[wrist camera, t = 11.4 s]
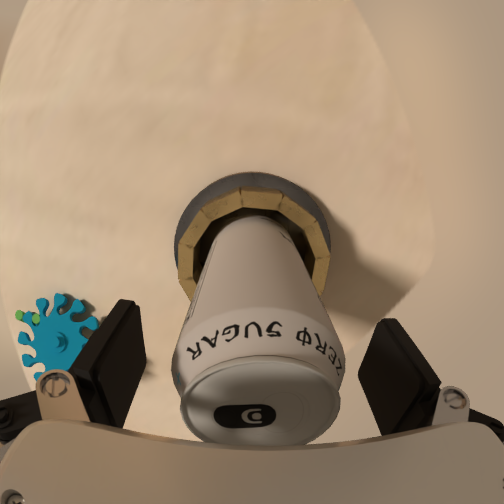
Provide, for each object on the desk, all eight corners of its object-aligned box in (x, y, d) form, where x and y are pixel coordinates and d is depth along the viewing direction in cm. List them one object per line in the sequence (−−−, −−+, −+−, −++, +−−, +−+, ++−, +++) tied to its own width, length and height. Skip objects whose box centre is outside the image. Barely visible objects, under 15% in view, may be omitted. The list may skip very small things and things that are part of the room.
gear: (119, 328, 24) (73, 414, 19) (128, 336, 29) (90, 407, 24) (39, 267, 23) (-4, 345, 19) (57, 285, 29) (20, 351, 24)
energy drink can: (293, 284, 23) (344, 451, 8) (217, 290, 23) (186, 461, 8) (291, 209, 21) (376, 328, 6) (208, 215, 21) (133, 344, 7)
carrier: (181, 166, 21) (165, 169, 17) (336, 181, 21) (356, 189, 17) (178, 305, 25) (166, 334, 21) (311, 315, 25) (322, 345, 21)
